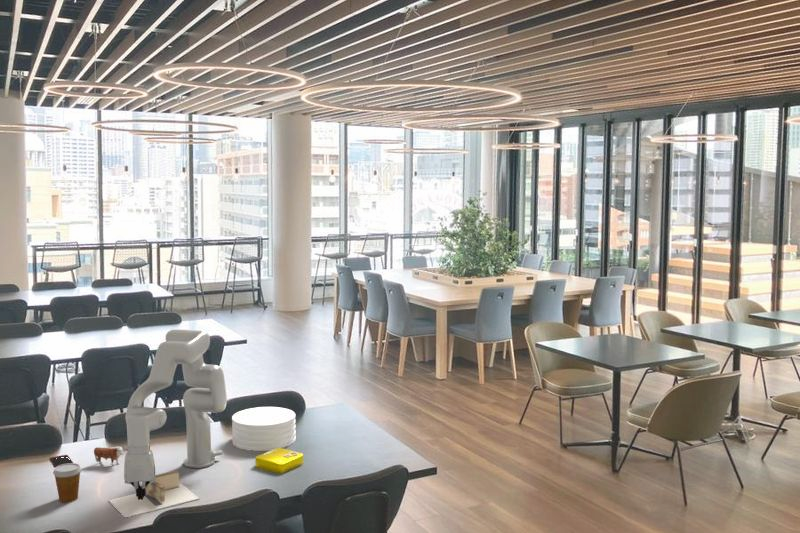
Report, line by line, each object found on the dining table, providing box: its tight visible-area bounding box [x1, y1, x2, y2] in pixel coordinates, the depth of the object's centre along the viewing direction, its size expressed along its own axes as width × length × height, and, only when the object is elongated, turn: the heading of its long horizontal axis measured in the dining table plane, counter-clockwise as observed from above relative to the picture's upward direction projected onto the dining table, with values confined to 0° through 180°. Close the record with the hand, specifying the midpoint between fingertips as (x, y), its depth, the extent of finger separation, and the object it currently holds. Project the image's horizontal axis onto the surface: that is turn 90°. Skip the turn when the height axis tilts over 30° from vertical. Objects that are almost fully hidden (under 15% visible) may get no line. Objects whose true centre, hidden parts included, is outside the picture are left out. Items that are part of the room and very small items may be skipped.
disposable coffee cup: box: [52, 462, 82, 503], centre depth 288 cm, size 10×10×12 cm
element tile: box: [254, 448, 304, 474], centre depth 324 cm, size 15×15×5 cm
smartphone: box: [49, 454, 74, 468], centre depth 326 cm, size 7×1×15 cm
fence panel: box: [146, 482, 165, 502], centre depth 288 cm, size 11×1×6 cm, turn 46°
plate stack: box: [231, 406, 297, 452], centre depth 354 cm, size 28×28×12 cm
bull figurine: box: [93, 446, 125, 467], centre depth 323 cm, size 4×13×8 cm, turn 79°
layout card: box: [108, 470, 200, 519], centre depth 288 cm, size 27×18×7 cm, turn 127°
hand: (141, 498), depth 282 cm, fingers closed
